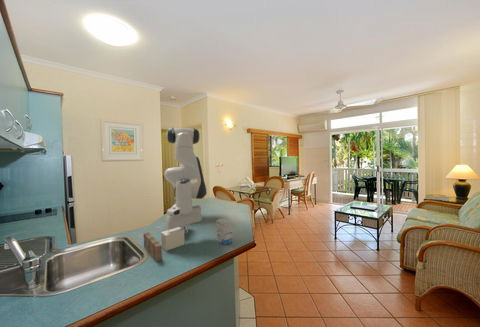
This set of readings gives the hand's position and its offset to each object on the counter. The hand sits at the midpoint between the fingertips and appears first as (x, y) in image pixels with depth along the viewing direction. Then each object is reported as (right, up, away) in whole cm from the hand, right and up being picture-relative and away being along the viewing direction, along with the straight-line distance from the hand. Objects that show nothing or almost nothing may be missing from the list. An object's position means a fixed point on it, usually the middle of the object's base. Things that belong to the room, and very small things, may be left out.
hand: (185, 232), depth 108 cm
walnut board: (-13, -6, -11) cm, 18 cm away
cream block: (-5, -6, -4) cm, 9 cm away
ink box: (+22, -5, 0) cm, 23 cm away
